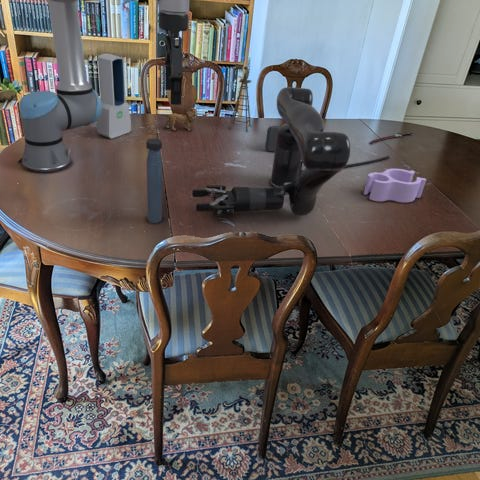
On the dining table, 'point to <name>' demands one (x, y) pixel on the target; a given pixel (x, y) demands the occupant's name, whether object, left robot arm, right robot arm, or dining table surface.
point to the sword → (388, 137)
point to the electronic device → (112, 97)
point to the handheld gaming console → (271, 137)
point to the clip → (394, 186)
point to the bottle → (154, 186)
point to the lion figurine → (182, 118)
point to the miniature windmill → (244, 81)
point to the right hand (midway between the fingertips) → (194, 200)
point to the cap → (154, 144)
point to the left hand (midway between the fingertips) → (172, 96)
